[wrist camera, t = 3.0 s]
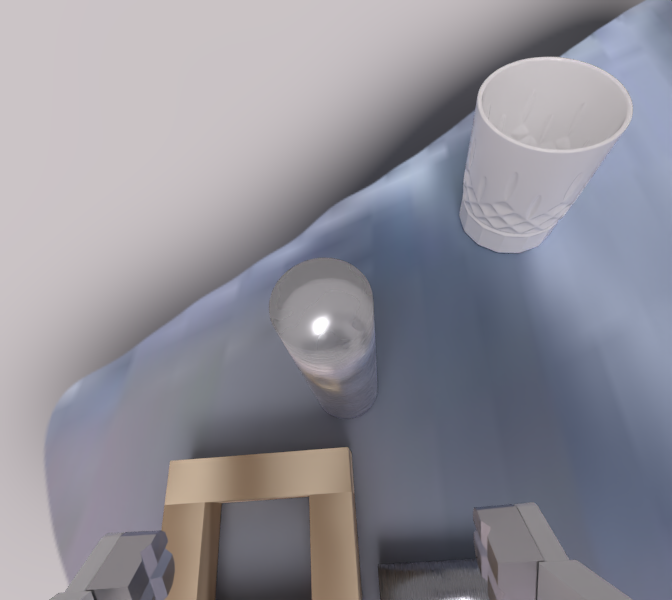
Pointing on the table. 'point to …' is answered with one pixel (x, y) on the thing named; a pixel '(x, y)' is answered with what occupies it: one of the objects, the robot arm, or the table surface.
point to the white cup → (537, 147)
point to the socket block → (263, 484)
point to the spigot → (329, 332)
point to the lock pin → (432, 581)
